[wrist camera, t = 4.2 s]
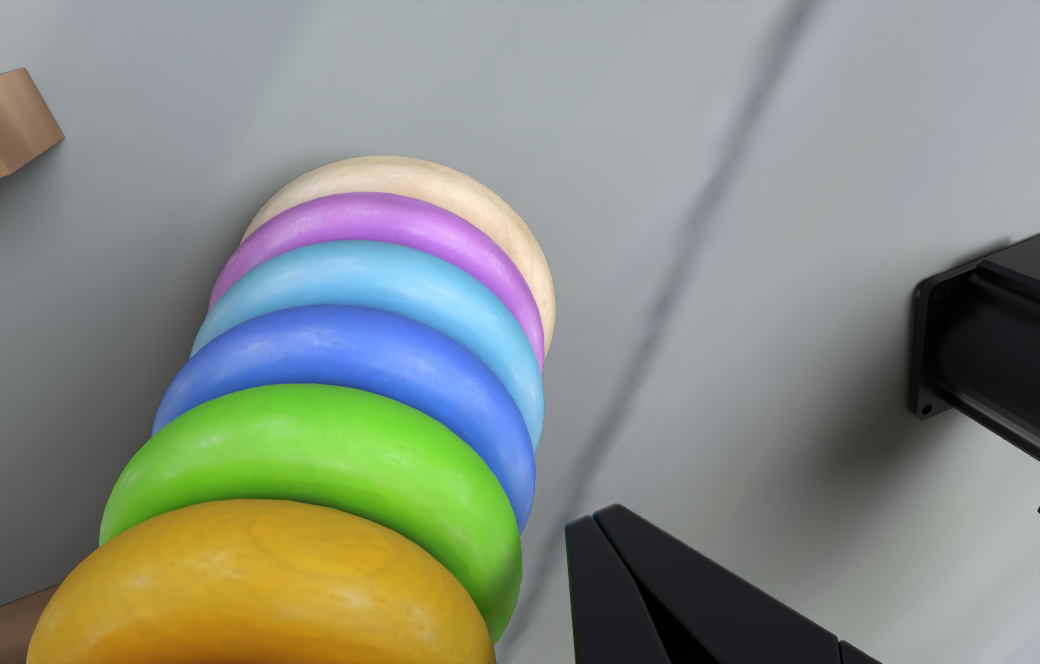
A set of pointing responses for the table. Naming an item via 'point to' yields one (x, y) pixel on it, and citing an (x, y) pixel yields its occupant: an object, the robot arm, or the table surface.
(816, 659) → the robot arm
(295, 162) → the table surface
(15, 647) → the u rest
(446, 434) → the stacking toy
